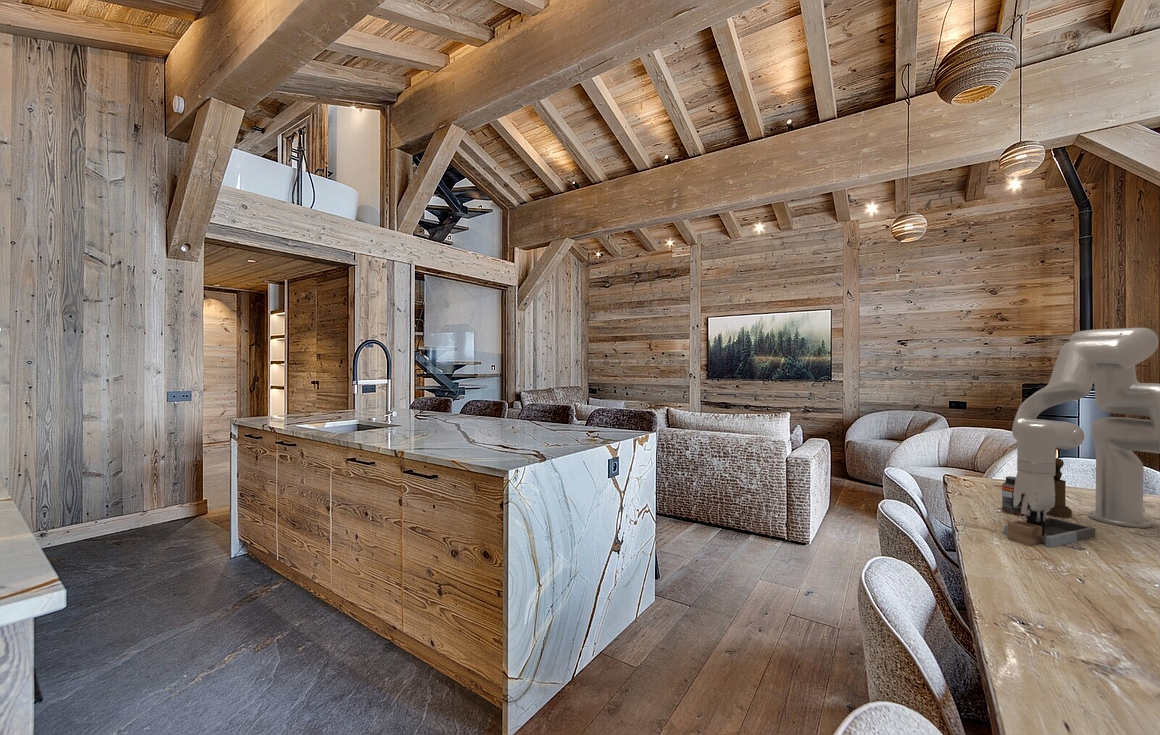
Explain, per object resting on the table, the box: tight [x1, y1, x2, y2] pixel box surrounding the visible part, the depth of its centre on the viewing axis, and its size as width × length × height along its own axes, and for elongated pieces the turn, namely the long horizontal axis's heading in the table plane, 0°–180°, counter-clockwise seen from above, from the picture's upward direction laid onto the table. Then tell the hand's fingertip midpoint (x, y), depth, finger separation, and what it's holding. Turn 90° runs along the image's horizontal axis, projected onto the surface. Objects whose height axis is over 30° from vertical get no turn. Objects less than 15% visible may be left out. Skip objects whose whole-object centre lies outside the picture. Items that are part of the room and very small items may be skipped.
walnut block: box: [1007, 520, 1043, 547], centre depth 126 cm, size 5×5×4 cm
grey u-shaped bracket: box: [1004, 516, 1097, 549], centre depth 130 cm, size 21×10×2 cm, turn 110°
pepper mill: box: [1046, 457, 1073, 519], centre depth 148 cm, size 7×6×18 cm
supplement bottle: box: [1001, 475, 1025, 516], centre depth 150 cm, size 6×6×11 cm
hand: (1035, 534), depth 128 cm, fingers closed
